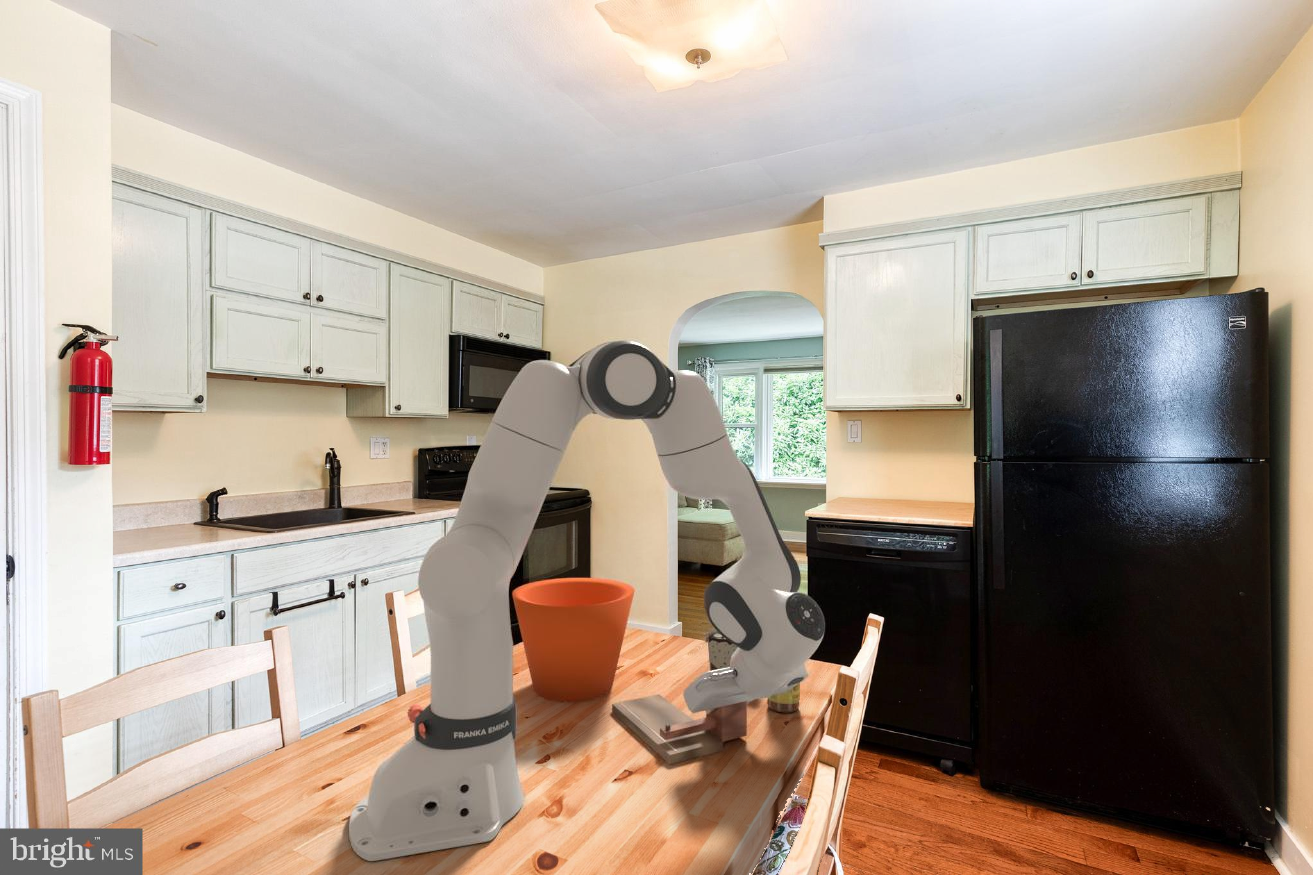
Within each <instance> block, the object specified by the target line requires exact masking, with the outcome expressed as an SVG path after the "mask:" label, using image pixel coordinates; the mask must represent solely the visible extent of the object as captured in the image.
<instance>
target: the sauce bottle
mask: <svg viewBox="0 0 1313 875" xmlns="http://www.w3.org/2000/svg"><path fill="white" fill-rule="evenodd" d="M800 695H801V682H800V683H798V684H797V685H796V686H794V687H793V688H792V689H790V690H788V691H786V692H784V693H780V694H775V695H772V696H770V697H768V698H766V699H767V702H766V704H767V705H766V706H767V707H768V708H769V709H771V710H772V711H774V712H778V713H785V714H786V713H787V714H789V713H792V712H793V713H794V712H796V711H798V709H799V707H800V700H801V696H800Z"/></svg>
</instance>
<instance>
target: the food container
mask: <svg viewBox="0 0 1313 875" xmlns="http://www.w3.org/2000/svg"><path fill="white" fill-rule="evenodd" d="M704 643H707V648H708V649H707V650H708V658H709V659H708V660H709V671H712V670H717V669H722V668H727V667H730V660H731V656H732V654H733V653H734V652H735V650H736V649H737V648H738V647H737V646H736V645H734V644H733V643H731V642H730V641H728V640H727V639H725V638H724V637H723V636H722V635H721V634H720V633H719V632H718V631H717V630H711V631H710V632H707V634H706V636H705V642H704Z"/></svg>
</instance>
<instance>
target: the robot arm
mask: <svg viewBox="0 0 1313 875" xmlns="http://www.w3.org/2000/svg"><path fill="white" fill-rule="evenodd" d="M709 387H710V386H708V383H707V382H706V380H705V379H704V378H703V376H701V375H700V374H699V373H697V372H695V371H692V370H686V369H685V370H684V369H682V370H681V369H680V370H674V371H672V369H670V368H669V367H668V366H667V365H666V364H665V363H664V362H663V361H662V360H661V359H660V358H659V357H658V356H657V355H656V354H655V353H654V352H653V351H652V350H650V348H648V347H646V346H645V345H643V344H641V343H639V342H635V341H631V340H617V341H607V342H603V343H601V344H599V345H596V346H595V347H593V348H591V349H590V350H588V351H587V352H585V353H584V354H582V355H581V356H580V357H578V358H577V359H575V361H573V362H572V363H570V364H569V365H564V364H562V363H559V362H556V361H554V360H547V359H538V360H533V361H530V362H528V363H526V364H525V365H524V366H523V367H522V368H521V369H520V371H519V372H518V374H517V375H516V376H515V378H514V379H513V381H512V382H511V383H510V385H509V387H508V389H507V390H506V392H505V393H504V396H503V397H502V399H501V401H500V403H499V405H498V406H497V409H496V411H495V413H494V415H493V417H492V420H491V422H490V423H489V424H490V425H488V428H487V431H486V433H485V435H484V438H483V439H482V442H481V444H480V447H479V448H478V452H477V454H476V456H475V459H474V460H473V463H472V465H471V466H470V467H471V468H470V470H469V472H468V476H467V481H466V485H465V488H464V491H463V495H462V497H461V501H460V504H459V507H458V510H457V512H456V515H455V518H454V521H453V523H452V526H451V527H450V529H449V531H448V532H447V533H446V534H445V535H443V536H442V537H441V538H439V539H438V540H437V541H435V542H434V543H433V544H432V545H431V546H430V547H429V549H428V550H427V552H426V554H425V556H424V558H423V559H422V562H421V565H420V569H419V571H418V572H419V573H418V578H417V580H418V581H417V584H418V591H419V595H420V597H421V600H422V601H423V610H424V616H425V623H426V629H427V633H428V639H429V640H428V641H429V649H430V650H429V651H430V703H429V704H428V705H427V706H426V707H425V708H424V709H423V706H421V705H420V704H417V703H415V704H412V705H410V706H409V708H408V709H407V717H408V720H409V721H410V722H411V724H413V725H414V726H413V729H414V730H413V731H414V736H413V737H412V738H410V739H409V740H408V741H406V743H404V744H403V745H402V746H401V747H400V748H399V749H397V750H396V751H395V752H394V753H393V754H391V755H390V756H389V757H388V758H387V759H386V760H384V761H382V763H381V764H380V765H378V767H377V769H376V771H375V773H374V775H373V777H372V781H371V784H370V788H369V793H368V796H366V797H364V798H362V799H361V800H359V801H358V802H357V804H356V805H355V806H354V808H353V809H352V811H351V813H350V817H349V822H348V824H349V825H348V837H349V843H350V846H351V848H352V849H353V852H354V853H355V854H356V855H357V856H359V857H360V858H361V859H363V860H365V861H368V862H374V861H381V860H387V859H394V858H398V857H405V856H409V855H410V856H411V855H416V854H422V853H428V852H434V851H440V850H445V849H450V848H457V847H462V846H463V847H464V846H469V845H475V844H480V843H486V842H489V841H492V840H494V839H495V837H496V836H498V833H499V832H500V830H501V828H502V826H503V825H504V824H506V823H507V822H508V821H509V820H510V819H512V818H513V817H514V816H515V815H516V814H518V812H519V811H520V810H521V808H522V807H523V806H522V805H523V804H524V799H525V794H524V792H523V788H522V785H521V781H520V777H519V776H520V775H519V773H518V772H519V771H518V766H517V758H516V750H515V739H516V735H517V727H518V726H517V725H518V720H517V719H518V714H517V713H518V710H517V704H516V703H517V700H516V698H515V697H514V690H513V689H514V641H513V636H512V629H511V628H512V626H511V618H510V617H511V614H510V597H509V590H510V589H509V588H510V584H511V583H510V582H511V579H512V578H513V576H514V574H515V572H516V570H517V567H518V566H519V563H520V561H521V559H522V556H523V553H524V552H525V548H526V546H527V544H528V542H529V539H530V536H531V534H532V531H533V529H534V527H535V524H536V522H537V519H538V517H539V514H540V512H541V509H542V507H543V504H544V502H545V499H546V497H547V495H548V492H549V490H550V487H551V485H552V483H553V480H554V478H555V476H556V474H557V472H558V469H559V467H560V465H561V462H562V460H563V458H564V456H565V454H566V450H567V448H568V445H569V443H570V440H571V438H572V434H573V433H574V431H575V430H576V428H577V427H578V425H579V423H581V421H582V420H583V419H584V418H586V417H587V416H588V415H591V414H595V415H598V416H600V417H603V418H606V419H611V420H612V419H613V420H624V421H625V420H627V421H632V420H641V421H642V422H643V423H644V424H645V426H646V427H647V429H648V431H649V433H650V434H651V436H652V440H653V444H654V448H655V452H656V454H657V457H658V461H659V465H660V467H661V468H660V469H661V471H662V474H663V475H664V477H665V480H666V481H667V483H668V485H669V486H670V488H672V490H674V491H675V492H677V493H678V494H680V495H681V496H684V497H686V498H689V499H693V500H718V501H721V502H722V503H724V504H725V506H726V507H727V508H728V509H729V512H730V514H731V517H732V518H733V520H734V522H735V525H736V528H737V530H738V533H739V535H740V537H741V538H742V541H743V544H744V550H743V553H742V556H741V558H740V559H738V561H737V562H735V563H734V564H732V565H731V566H730V567H729V568H727V569H726V570H725V571H723V572H722V573H721V574H719V575H718V576H717V577H716V578H715V579H714V580H712V581H711V582H710V583H709V584H708V585H707V586H706V587H705V590H704V593H703V605H704V610H705V613H706V616H707V619H708V620H709V623H710V624H711V626H712V627H713V628H714V629H715V631H718V632H719V633H720V634H721V635H722V636H723V637H724V638H725V639H727V640H728V641H730V642H731V643H733V644H734V645H736V646H737V647H738V648H737V649H736V650H735V652H734V653H733V654H732V656H731V660H730V667H727V668H722V669H717V670H712V671H710V670H708V671H705V672H703V673H701V674H700V675H699V676H697V677H696V678H695V679H694V680H693V681H692V682H691V683H690V684H689V685H688V686H687V687H686V688H685V689H684V691H683V698H684V702H685V703H686V707H687V709H688V710H689V711H690V712H691V714H696V713H700V712H704V711H705V714H706V713H707V714H711V713H715V712H716V711H717V710H718V707H723V706H727V705H731V704H736V703H740V702H745V701H747V705H748V704H749V703H751V702H752V701H755V700H758V699H768V697H770V696H772V695H775V694H780V693H784V692H786V691H788V690H790V689H792V688H793V687H794V686H796V685H797V684H798V683H800V684H801V683H802V682H804V681H805V680H807V679H808V678H809V672H808V670H807V668H806V665H805V663H807V661H809V659H810V658H811V657H812V655H814V653H815V652H816V651H817V649H818V648H819V646H820V644H821V642H822V641H823V639H824V635H825V632H826V631H825V630H826V622H825V616H824V614H823V611H822V610H821V608H820V606H819V605H818V603H817V602H816V601H815V600H814V598H812V597H811V596H809V595H807V594H805V593H803V592H798V591H799V589H800V587H801V582H802V579H801V578H802V577H801V576H802V575H801V570H800V567H799V564H798V562H797V560H796V558H795V557H794V555H793V553H792V552H791V551H790V549H789V548H788V546H787V544H786V543H785V542H784V539H783V538H782V536H781V533H780V531H779V529H778V527H777V525H776V522H775V520H774V518H773V515H772V513H771V511H770V509H769V506H768V504H767V501H766V499H765V496H764V494H763V492H762V489H761V486H760V485H759V483H758V481H757V479H756V477H755V475H754V473H753V471H752V470H751V468H750V467H749V466H748V464H747V463H746V462H744V461H743V460H742V459H741V458H739V456H738V454H736V451H735V450H734V447H733V445H732V443H731V440H730V437H729V434H728V431H727V428H726V425H725V422H724V419H723V416H722V413H721V412H720V409H719V406H718V404H717V401H716V400H715V397H714V396H713V394H712V390H711V389H710V388H709Z"/></svg>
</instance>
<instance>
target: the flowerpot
mask: <svg viewBox="0 0 1313 875" xmlns="http://www.w3.org/2000/svg"><path fill="white" fill-rule="evenodd" d="M634 594H635V588H634V587H633V586H632V585H631V584H628V583H626V582H622V581H618V580H612V579H606V578H599V577H598V578H595V577H566V578H565V577H563V578H562V577H561V578H552V579H542V580H538V581H532V582H529V583H525V584H522V585H521V586H518V587H516V588H515V589H514V590H512V593H511V595H512V599H513V603H514V608H515V612H516V613H515V614H516V618H517V621H518V626H519V630H520V635H521V638H522V642H523V647H524V652H525V657H526V661H527V666H528V671H529V675H530V679H531V683H532V688H533V689H532V690H533V692H534V693H535V695H537V696H538V697H539V696H540V698H541V697H542V698H541V699H543V698H544V700H546V699H547V701H551V702H555V701H556V702H555V703H568V704H569V703H581V702H582V701H583V702H589V701H593V700H595V699H598V697H599V698H601V696H602V697H604V696H606V695H607V694H609V693H610V691H611V690H612V688H613V685H614V680H615V677H616V673H617V668H618V663H619V659H620V654H621V650H622V647H623V643H624V638H625V634H626V629H627V625H628V621H629V617H630V611H631V608H632V603H633V598H634ZM605 694H606V695H605ZM603 695H604V696H603Z"/></svg>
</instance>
